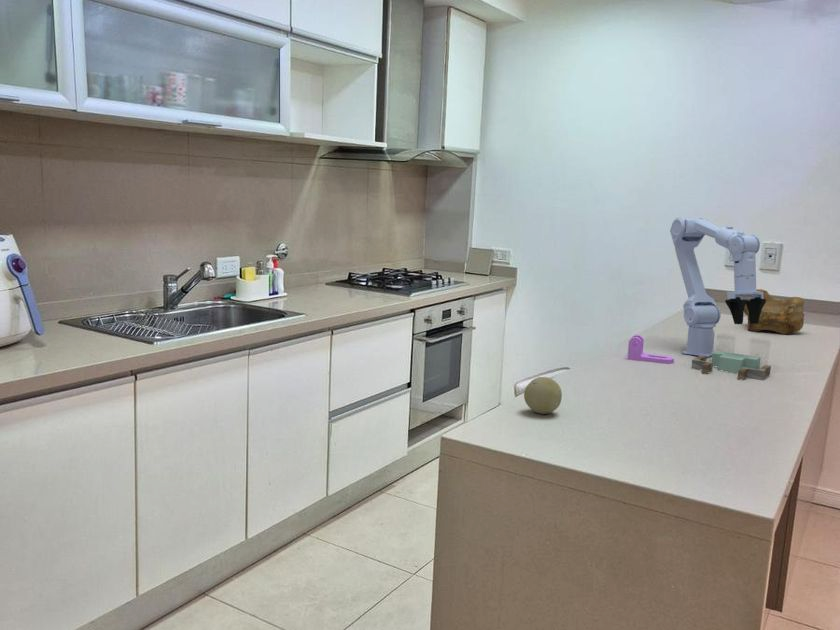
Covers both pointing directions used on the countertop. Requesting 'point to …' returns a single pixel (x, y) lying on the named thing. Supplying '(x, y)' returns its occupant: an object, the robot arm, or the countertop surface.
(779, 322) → the rough brown rock
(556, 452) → the countertop surface
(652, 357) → the bracket
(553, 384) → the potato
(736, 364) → the t slider
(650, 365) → the countertop surface
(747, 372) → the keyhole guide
